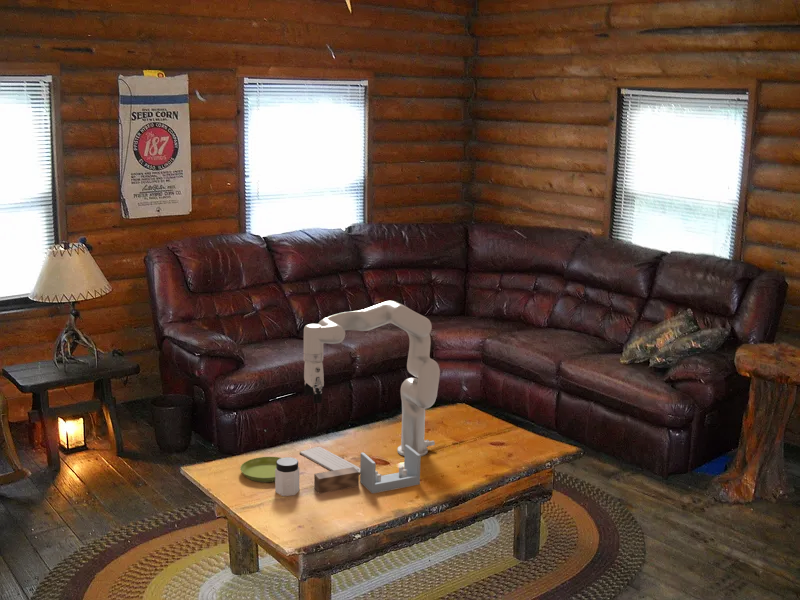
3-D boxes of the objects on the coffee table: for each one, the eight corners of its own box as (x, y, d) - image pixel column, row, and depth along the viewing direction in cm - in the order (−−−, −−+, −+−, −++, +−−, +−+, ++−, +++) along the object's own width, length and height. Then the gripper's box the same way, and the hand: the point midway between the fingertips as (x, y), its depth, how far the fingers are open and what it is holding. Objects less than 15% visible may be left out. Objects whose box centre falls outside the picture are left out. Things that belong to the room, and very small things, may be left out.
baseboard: (323, 448, 384) (299, 455, 377) (323, 441, 384) (299, 448, 376) (369, 472, 361) (345, 480, 354) (369, 465, 361) (345, 473, 353)
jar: (276, 497, 337) (276, 466, 334) (274, 487, 344) (274, 457, 342) (300, 495, 339) (300, 465, 336) (298, 485, 346) (298, 456, 344)
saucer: (304, 476, 356) (304, 468, 355) (259, 490, 342) (259, 482, 342) (274, 459, 371) (274, 451, 370) (230, 472, 357) (230, 464, 357)
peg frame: (406, 473, 360) (407, 444, 357) (419, 484, 350) (420, 455, 347) (360, 482, 351) (360, 452, 348) (372, 493, 341) (372, 463, 339)
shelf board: (353, 481, 352) (353, 467, 350) (358, 486, 348) (358, 472, 346) (314, 488, 345) (314, 473, 344) (319, 493, 341) (319, 479, 339)
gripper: (330, 361, 343) (330, 405, 347) (314, 349, 358) (314, 391, 362) (311, 363, 340) (311, 407, 344) (296, 351, 355) (296, 393, 359)
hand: (312, 399), depth 353 cm, fingers open, 9 cm apart
